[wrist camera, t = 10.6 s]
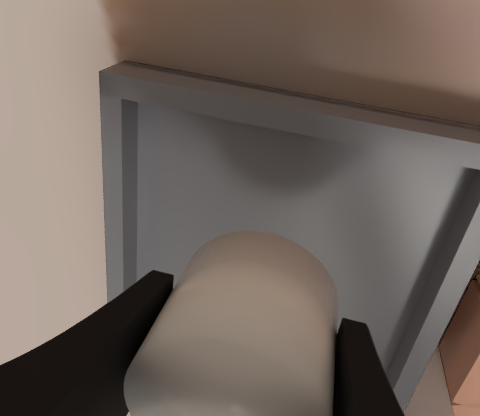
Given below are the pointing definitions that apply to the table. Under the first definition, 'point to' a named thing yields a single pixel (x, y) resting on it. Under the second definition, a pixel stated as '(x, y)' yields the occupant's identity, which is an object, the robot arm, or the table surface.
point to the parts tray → (295, 195)
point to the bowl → (464, 354)
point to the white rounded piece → (241, 335)
